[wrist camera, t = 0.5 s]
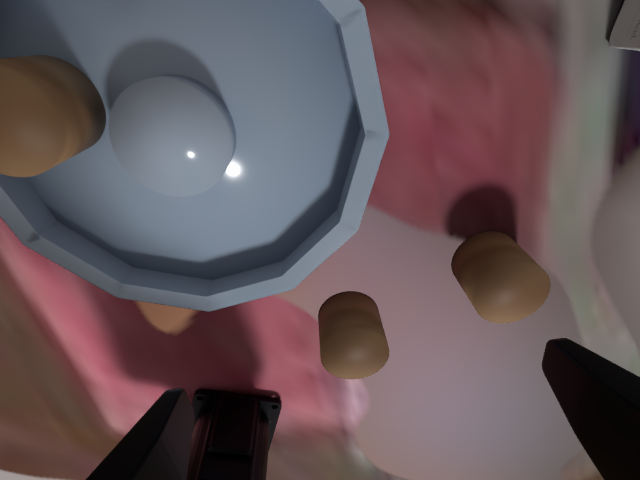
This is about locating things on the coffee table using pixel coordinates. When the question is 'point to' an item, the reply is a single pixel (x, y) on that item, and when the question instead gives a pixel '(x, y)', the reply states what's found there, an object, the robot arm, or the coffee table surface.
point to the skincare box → (627, 27)
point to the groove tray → (203, 144)
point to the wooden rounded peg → (45, 114)
